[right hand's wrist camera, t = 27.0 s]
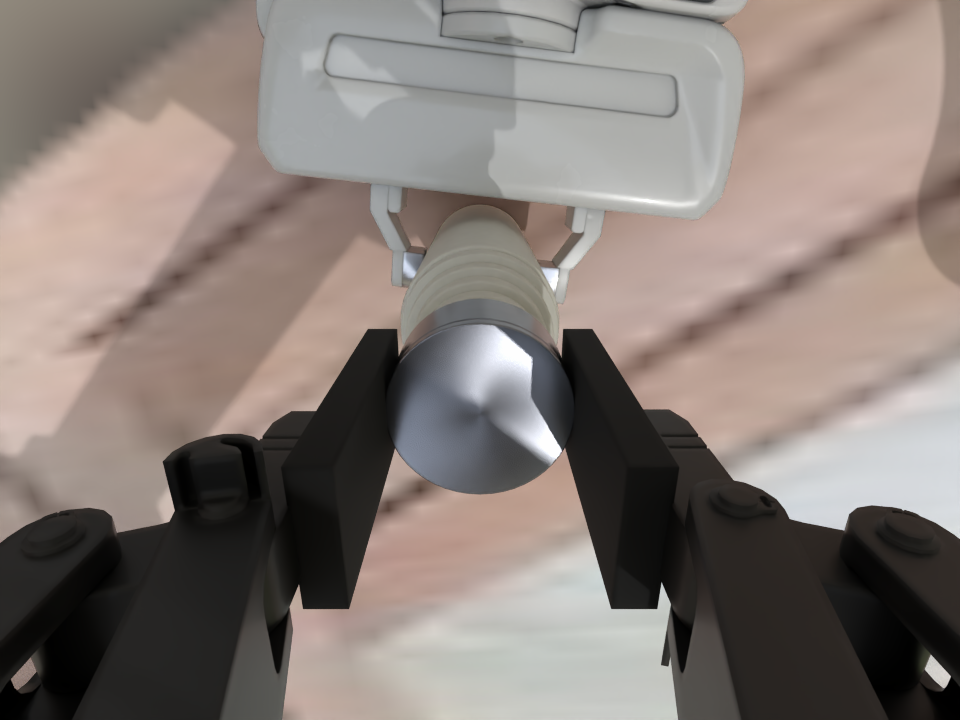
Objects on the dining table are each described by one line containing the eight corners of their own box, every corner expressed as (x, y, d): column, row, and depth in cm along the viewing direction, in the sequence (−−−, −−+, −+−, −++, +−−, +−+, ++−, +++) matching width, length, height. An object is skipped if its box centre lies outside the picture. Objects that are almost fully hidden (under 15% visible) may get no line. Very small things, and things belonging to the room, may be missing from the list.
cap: (366, 391, 14) (347, 430, 12) (463, 262, 13) (460, 282, 11) (494, 476, 15) (496, 524, 13) (596, 363, 14) (615, 398, 12)
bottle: (434, 201, 31) (363, 281, 12) (529, 206, 31) (607, 293, 12) (433, 294, 33) (369, 488, 14) (522, 298, 33) (579, 497, 14)
